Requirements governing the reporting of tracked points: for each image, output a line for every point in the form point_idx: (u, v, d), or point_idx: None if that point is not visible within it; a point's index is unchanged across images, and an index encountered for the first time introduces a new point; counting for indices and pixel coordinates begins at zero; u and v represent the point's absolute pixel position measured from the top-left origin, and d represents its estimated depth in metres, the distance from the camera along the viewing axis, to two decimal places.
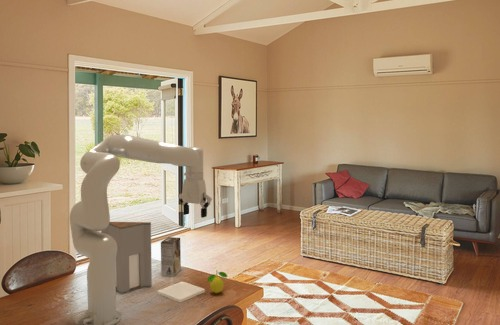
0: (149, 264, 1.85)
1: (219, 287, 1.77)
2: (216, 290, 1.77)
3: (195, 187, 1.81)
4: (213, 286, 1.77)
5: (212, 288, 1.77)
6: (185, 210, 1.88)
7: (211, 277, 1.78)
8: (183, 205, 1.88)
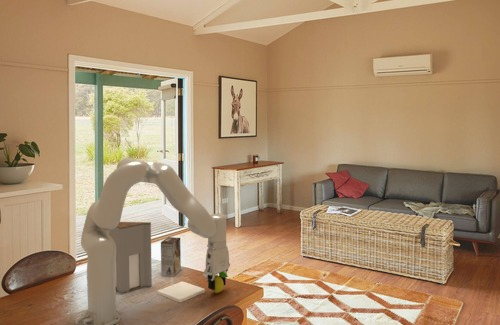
0: (149, 264, 1.85)
1: (219, 287, 1.77)
2: (216, 290, 1.77)
3: (226, 254, 1.78)
4: None
5: None
6: None
7: None
8: (213, 280, 1.75)
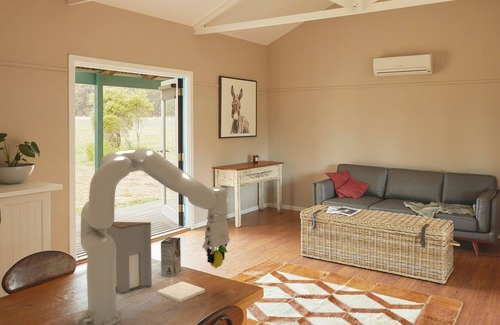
0: (149, 264, 1.85)
1: (218, 261, 1.75)
2: (215, 264, 1.76)
3: (225, 227, 1.77)
4: None
5: None
6: None
7: None
8: (212, 253, 1.74)
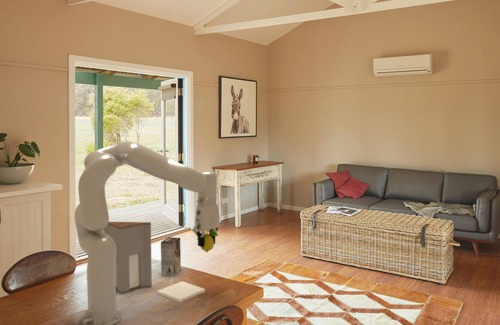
0: (149, 264, 1.85)
1: (209, 245, 1.75)
2: (205, 248, 1.75)
3: (216, 211, 1.77)
4: None
5: None
6: None
7: None
8: (202, 237, 1.74)
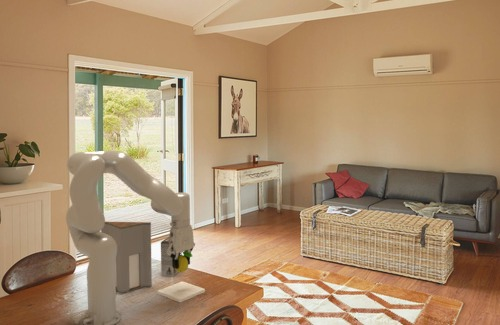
0: (149, 264, 1.85)
1: (183, 266, 1.76)
2: (180, 269, 1.77)
3: (190, 232, 1.78)
4: None
5: None
6: None
7: None
8: (177, 259, 1.75)
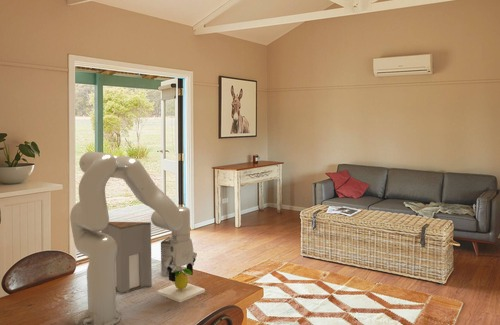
0: (149, 264, 1.85)
1: (183, 283, 1.77)
2: (179, 286, 1.77)
3: (190, 247, 1.79)
4: (177, 282, 1.77)
5: (176, 284, 1.78)
6: None
7: (175, 273, 1.79)
8: (173, 272, 1.74)
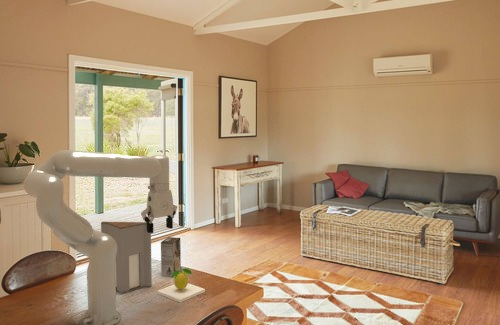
0: (149, 264, 1.85)
1: (183, 283, 1.77)
2: (179, 286, 1.77)
3: (169, 197, 1.69)
4: (177, 282, 1.77)
5: (175, 284, 1.78)
6: None
7: (175, 273, 1.79)
8: (151, 223, 1.65)
